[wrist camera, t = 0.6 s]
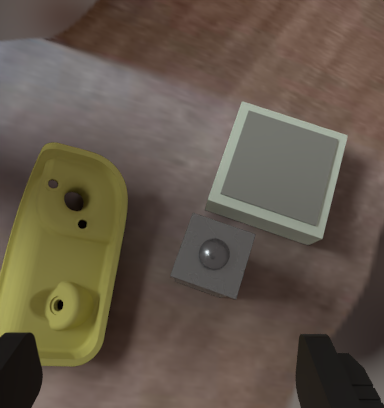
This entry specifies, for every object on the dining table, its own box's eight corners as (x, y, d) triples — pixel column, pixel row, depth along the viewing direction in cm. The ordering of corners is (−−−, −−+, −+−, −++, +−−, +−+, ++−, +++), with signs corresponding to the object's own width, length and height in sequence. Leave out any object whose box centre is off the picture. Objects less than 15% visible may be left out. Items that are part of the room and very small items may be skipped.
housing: (172, 282, 37) (170, 275, 27) (189, 235, 39) (193, 210, 28) (220, 300, 37) (237, 299, 27) (236, 251, 38) (257, 232, 28)
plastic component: (98, 367, 33) (-25, 364, 28) (84, 347, 39) (-18, 342, 35) (136, 164, 37) (33, 135, 32) (117, 177, 43) (30, 154, 39)
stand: (204, 209, 39) (207, 198, 35) (236, 119, 43) (242, 99, 38) (308, 245, 39) (323, 238, 35) (332, 150, 42) (349, 134, 38)
